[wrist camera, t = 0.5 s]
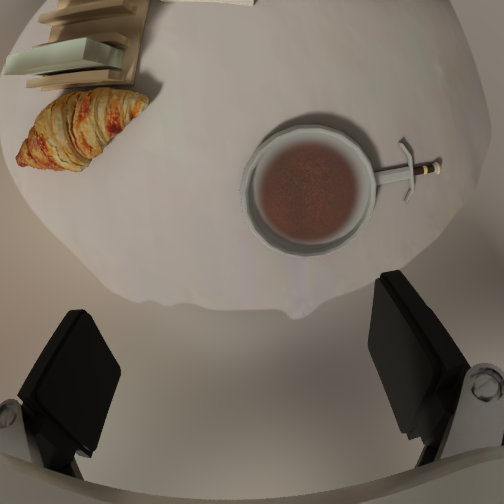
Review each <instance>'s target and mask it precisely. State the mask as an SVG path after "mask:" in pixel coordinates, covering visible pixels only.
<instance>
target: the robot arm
mask: <svg viewBox="0 0 504 504" xmlns="http://www.w3.org/2000/svg"><path fill="white" fill-rule="evenodd" d="M368 348H369V352H370V354H371V357H372V359H373V362H374V364H375V367H376V369H377V371H378V374H379V376H380V379H381V381H382V384H383V386H384V389H385V392H386V394H387V396H388V399H389V402H390V404H391V407H392V410H393V413H394V415H395V418H396V421H397V423H398V426H399V429H400V431H401V433H406V434H407V437H408V439H409V440H411V439H414V438H417V437H421V439H422V442H423V444H424V448H423V450H422V452H421V455H420V457H419V459H418V461H417V464H416V466H415V468H414V469H411V470H408V471H405V472H402V473H398V474H395V475H392V476H389V477H385V478H382V479H378V480H374V481H370V482H366V483H362V484H358V485H354V486H350V487H345V488H340V489H336V490H330V491H325V492H319V493H312V494H305V495H298V496H290V497H280V498H267V499H251V500H250V499H249V500H206V499H188V498H176V497H166V496H158V495H151V494H144V493H138V492H132V491H127V490H122V489H117V488H112V487H108V486H103V485H99V484H95V483H91V482H88V481H84V479H83V477H82V474H81V472H80V470H79V467H78V465H77V463H76V460H75V458H74V455H75V453H77V454H78V455H79V456H83V457H87V458H91V456H92V453H93V451H95V450H96V448H97V445H98V442H99V439H100V435H101V432H102V429H103V426H104V423H105V419H106V416H107V413H108V410H109V407H110V404H111V401H112V398H113V396H114V393H115V390H116V387H117V384H118V381H119V378H120V376H121V369H120V366H119V364H118V363H117V361H116V359H115V358H114V356H113V354H112V353H111V351H110V349H109V348H108V346H107V344H106V342H105V341H104V339H103V337H102V335H101V334H100V331H99V330H98V328H97V326H96V324H95V322H94V320H93V318H92V316H91V315H90V314H88V313H87V312H86V311H85V310H83V309H81V310H70V311H69V312H68V313H67V314H66V316H65V317H64V318H63V320H62V322H61V323H60V325H59V326H58V328H57V329H56V331H55V332H54V334H53V335H52V337H51V338H50V340H49V341H48V343H47V345H46V346H45V348H44V349H43V351H42V353H41V354H40V356H39V358H38V359H37V361H36V363H35V364H34V366H33V368H32V370H31V371H30V373H29V375H28V377H27V378H26V380H25V382H24V384H23V386H22V388H21V389H20V391H19V393H18V395H17V396H18V397H19V398H20V399H21V400H22V401H23V404H22V405H21V404H20V403H19V402H18V401H17V400H15V399H8V400H6V401H4V402H2V403H1V404H0V504H504V372H503V371H502V370H501V369H500V368H499V367H497V366H495V365H493V364H489V363H480V364H476V365H474V366H473V367H470V365H469V364H468V362H467V361H466V359H465V357H464V356H463V354H462V353H461V351H460V350H459V348H458V347H457V345H456V344H455V342H454V341H453V339H452V338H451V336H450V335H449V333H448V332H447V330H446V329H445V328H444V326H443V325H442V323H441V322H440V321H439V319H438V318H437V316H436V315H435V314H434V312H433V311H432V310H431V309H430V308H429V307H428V306H427V305H426V304H425V302H424V301H423V300H422V298H421V297H420V296H419V294H418V293H417V292H416V290H415V289H414V288H413V287H412V285H411V284H410V283H409V281H408V280H407V279H406V277H405V276H404V275H403V274H402V272H401V271H400V270H395V271H389V272H384V273H381V275H380V278H377V279H376V280H375V288H374V298H373V307H372V315H371V323H370V330H369V337H368Z"/></svg>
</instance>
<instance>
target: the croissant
mask: <svg viewBox="0 0 504 504" xmlns="http://www.w3.org/2000/svg"><path fill="white" fill-rule="evenodd" d="M148 104H149V98H148V97H147V96H146V95H144V94H139V92H134V91H132V90H122V89H117V90H116V89H112V88H109V87H101V88H96V89H94V90H90V91H88V92H84V91H75V92H71V93H69V94H65V95H63V96H61V97H59V98H58V99H56V100H55V101H53V102H52V103H51V104H49V105H48V106H47V107H46V108H45V109H44V110H43V111H41V113H40V114H39V115H38V116H37V118H36V120H35V123H34V126H33V127H32V128H31V129H30V131H29V135H28V138H27V139H25V141H24V142H23V144H22V146H21V149H20V151H19V153H18V155H17V156H16V161H17V164H18V165H19V166H21V167H25V166H28V165H29V166H31V167H33V168H37V169H44V170H45V169H53V170H54V171H62V170H70V171H74V172H81V171H82V170H84V169H85V168H86V167H88V166H89V164H90V162H91V161H92V158H95V157H96V156H98V155H99V154H101V153H102V152H103V149H104V147H105V146H106V145H107V144H108V142H109V141H110V139H111V138H113V137H114V136H116V135H117V134H119V133H120V132H122V131H123V129H124V128H125V127H126V125H127V124H128V123H129V122H130V120H131V119H133V118H136V117H138V115H139V114H140V113H141V112H142V111H144V110H145V109H146V108H147V107H148Z"/></svg>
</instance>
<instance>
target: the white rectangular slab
mask: <svg viewBox="0 0 504 504" xmlns="http://www.w3.org/2000/svg"><path fill="white" fill-rule="evenodd" d="M167 1H198V2H218V3H231V4H241V5H250V6H253V4H254V0H161V2H167Z"/></svg>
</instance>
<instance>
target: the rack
mask: <svg viewBox="0 0 504 504" xmlns="http://www.w3.org/2000/svg"><path fill="white" fill-rule="evenodd" d="M149 4H150V0H59V1H58V5H57V8H56V11H53V12H49V13H46V14H42V15H40V16H39V20H38V22H39V23H43V24H46V25H50V26H52V28H51V32H50V37H49V42H48V43H45V44H41V45H37V46H34V47H32V49H29V50H25V51H22V52H19V53H15V54H12V55H9V56H7V60H6V66H5V73H4V75H43V77H41V78H36V79H31V80H27V86H26V88H41V91H49V90H57V89H65V88H75V87H87V86H104V85H134V79H135V72H136V66H137V60H138V55H139V49H140V44H141V39H142V34H143V29H144V25H145V20H146V16H147V12H148V8H149Z"/></svg>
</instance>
